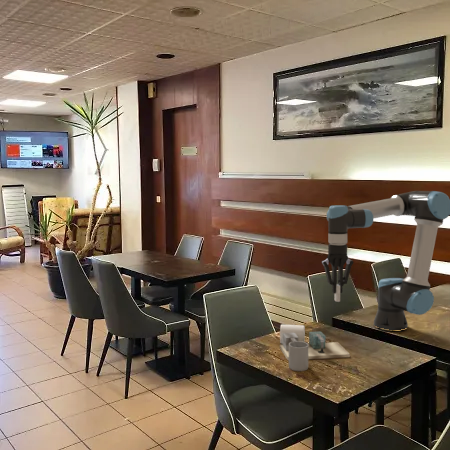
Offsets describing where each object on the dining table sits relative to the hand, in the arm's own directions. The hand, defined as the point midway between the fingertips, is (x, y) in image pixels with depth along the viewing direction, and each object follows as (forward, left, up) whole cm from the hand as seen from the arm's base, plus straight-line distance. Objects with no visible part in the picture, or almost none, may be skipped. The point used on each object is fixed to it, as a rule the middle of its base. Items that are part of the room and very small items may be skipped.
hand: (337, 300), depth 199 cm
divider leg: (+8, +2, -19) cm, 20 cm away
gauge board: (+11, +3, -20) cm, 23 cm away
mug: (+16, -10, -20) cm, 28 cm away
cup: (+21, +16, -20) cm, 34 cm away
